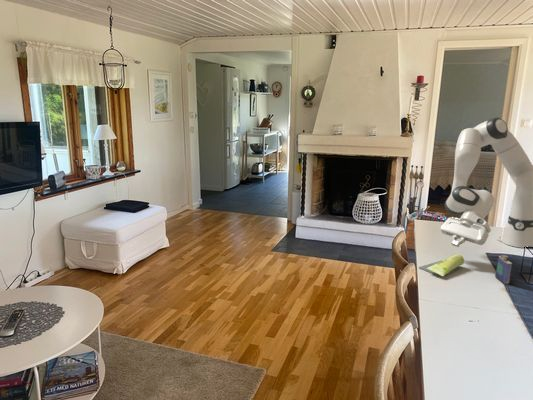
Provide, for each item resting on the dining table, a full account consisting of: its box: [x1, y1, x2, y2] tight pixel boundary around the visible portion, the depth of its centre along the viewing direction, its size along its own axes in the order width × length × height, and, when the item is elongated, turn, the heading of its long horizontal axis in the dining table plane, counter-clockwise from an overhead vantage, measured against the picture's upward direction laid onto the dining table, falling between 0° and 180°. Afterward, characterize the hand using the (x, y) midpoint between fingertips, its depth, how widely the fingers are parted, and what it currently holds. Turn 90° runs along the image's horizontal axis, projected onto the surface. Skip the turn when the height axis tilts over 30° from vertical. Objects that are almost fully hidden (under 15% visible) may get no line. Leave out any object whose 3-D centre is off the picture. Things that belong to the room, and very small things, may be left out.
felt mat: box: [418, 260, 463, 277], centre depth 176 cm, size 16×10×1 cm, turn 122°
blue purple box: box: [494, 254, 513, 285], centre depth 164 cm, size 9×3×11 cm, turn 172°
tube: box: [427, 253, 465, 277], centre depth 173 cm, size 6×5×20 cm
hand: (454, 245), depth 179 cm, fingers closed
